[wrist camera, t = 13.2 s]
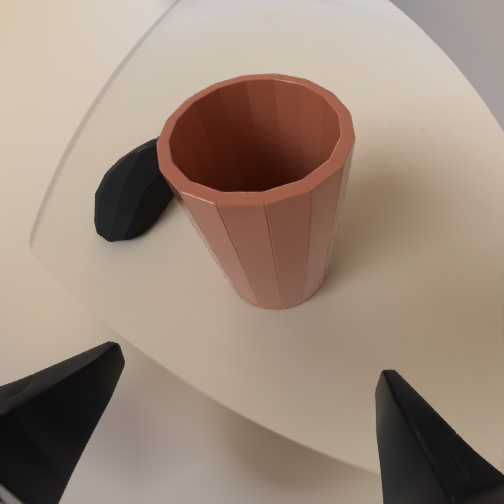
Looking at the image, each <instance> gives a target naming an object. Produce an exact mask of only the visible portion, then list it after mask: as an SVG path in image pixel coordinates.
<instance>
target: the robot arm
mask: <svg viewBox="0 0 504 504" xmlns="http://www.w3.org/2000/svg"><path fill="white" fill-rule="evenodd" d="M124 365H125V360H124V357H123V354H122V351H121V348H120V345H119V344H118V343H115V342H110V341H108V342H106V343H103V344H101V345H99V346H97V347H94V348H92V349H90V350H88V351H85V352H83V353H81V354H79V355H76V356H74V357H72V358H69V359H67V360H65V361H62V362H60V363H58V364H55V365H53V366H51V367H49V368H46V369H44V370H41V371H39V372H37V373H34V374H32V375H29V376H27V377H25V378H22V379H20V380H17V381H14V382H12V383H9V384H6V385H3V386H0V504H59V501H60V499H61V497H62V495H63V493H64V490H65V488H66V486H67V484H68V481H69V480H70V477H71V475H72V473H73V471H74V469H75V467H76V465H77V463H78V461H79V459H80V457H81V455H82V453H83V451H84V449H85V447H86V445H87V443H88V441H89V439H90V437H91V435H92V433H93V431H94V429H95V427H96V425H97V424H98V422H99V419H100V418H101V416H102V414H103V412H104V410H105V409H106V406H107V405H108V403H109V401H110V399H111V397H112V395H113V392H114V389H115V387H116V385H117V382H118V380H119V377H120V375H121V373H122V370H123V368H124ZM375 398H376V434H377V443H378V451H379V459H380V469H381V479H382V489H383V503H384V504H504V475H503V474H502V473H501V472H500V471H498V470H497V469H496V468H495V467H493V466H492V465H491V464H490V463H489V462H487V461H486V460H485V459H484V458H483V457H481V456H480V455H479V454H478V453H477V452H476V451H475V450H473V449H472V448H471V447H470V446H469V445H468V444H467V443H466V442H465V441H464V440H463V439H462V438H461V437H460V436H459V435H458V434H456V432H455V431H454V430H453V429H452V428H451V426H450V425H449V424H448V423H447V422H446V421H445V420H444V419H443V418H442V417H441V416H440V415H439V414H438V413H437V412H436V411H435V410H434V409H433V408H432V407H431V406H430V405H429V404H428V403H427V402H426V401H425V400H424V399H423V398H422V397H421V396H420V395H419V394H418V393H417V392H416V391H415V390H414V389H413V388H412V387H411V386H410V385H409V384H408V383H407V382H406V381H405V380H404V379H403V378H402V377H401V376H400V375H399V374H398V373H397V372H396V371H395V370H383V371H382V372H381V375H380V378H379V381H378V384H377V387H376V392H375Z"/></svg>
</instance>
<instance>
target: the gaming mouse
mask: <svg viewBox="0 0 504 504" xmlns="http://www.w3.org/2000/svg"><path fill="white" fill-rule="evenodd" d="M159 137H160V136H159ZM159 137H157V138H156V139H152V140H150V141H148V142H146V143H145V144H143V145H141V146H139V147H137V148H135V149H134V150H132V151H131V152H129V153H128V154H126V155H125V156H124V157H122V158H121V159H119V160H118V161H117V162H116V163H115V164H114V165H113V166H112V167H111V168H110V169H109V170H108V171H107V172H106V174H105V175H104V177H103V179H102V181H101V183H100V185H99V187H98V189H97V191H96V193H95V217H94V222H95V226H96V231H97V234H99V235H100V236H102V237H103V238H104V239H106V240H107V241H109V242H114V241H123V240H130V239H133V238H135V237H138V236H139V235H140V234H141V233H143V232H144V231H145V230H146V229H147V228H148V227H149V226H150V225H152V224H153V223H154V221H155V220H156V219H157V217H158V216H159V215H160V213H161V212H162V211H163V210H164V208H165V207H166V205H167V204H168V202H169V201H170V199H171V198H172V196H173V195H174V193H173V192H172V190H171V188H170V187H169V185H168V183H167V182H166V180H165V178H164V176H163V175H162V173H161V171H160V169H159V161H158V153H157V142H158V139H159Z"/></svg>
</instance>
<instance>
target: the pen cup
mask: <svg viewBox="0 0 504 504" xmlns="http://www.w3.org/2000/svg"><path fill="white" fill-rule="evenodd" d="M354 144H355V133H354V128H353V123H352V118H351V114H350V112H349V111H348V109H347V108H346V107H345V106H344V105H343V104H342V103H341V101H340V100H339V99H338V98H337V97H336V96H335V95H334V94H333V93H332V92H330V91H329V90H327V89H325V88H323V87H321V86H319V85H317V84H315V83H313V82H311V81H309V80H306V79H303V78H298V77H293V76H287V75H282V74H254V75H245V76H244V75H243V76H239V77H236V78H232V79H229V80H225V81H222V82H218V83H215V84H213V85H211V86H209V87H207V88H205V89H204V90H202V91H200V92H198V93H196V94H195V95H193V96H191V97H190V98H188V99H187V100H186V101H184V102H183V103H182V104H181V106H180V107H179V108H178V109H177V110H176V111H175V112H174V113H173V114H172V115H171V116H170V117H169V118H168V119H167V120H166V123H165V125H164V127H163V130H162V132H161V134H160V137H159V139H158V142H157V153H158V161H159V169H160V171H161V173H162V175H163V176H164V178H165V180H166V182H167V183H168V185H169V187H170V188H171V190H172V192H173V193H174V195H175V197H176V198H177V200H178V202H179V203H180V205H181V207H182V208H183V210H184V212H185V213H186V215H187V217H188V218H189V220H190V222H191V223H192V225H193V226H194V228H195V230H196V231H197V233H198V235H199V236H200V238H201V239H202V241H203V243H204V244H205V246H206V247H207V249H208V251H209V252H210V254H211V255H212V257H213V259H214V260H215V262H216V263H217V265H218V267H219V268H220V270H221V271H222V273H223V275H224V276H225V278H226V279H227V281H228V282H229V284H230V285H231V286H232V287H233V288H234V290H235V291H236V293H237V294H238V295H239V296H240V297H241V298H243V299H244V300H245V301H247V302H249V303H250V304H252V305H254V306H257V307H260V308H264V309H270V310H281V309H287V308H291V307H294V306H296V305H299V304H301V303H303V302H304V301H306V300H307V299H309V298H310V297H311V296H312V295H313V294H314V293H315V292H316V291H317V290H318V288H319V287H320V286H321V284H322V282H323V280H324V277H325V275H326V272H327V270H328V267H329V263H330V259H331V255H332V251H333V247H334V242H335V238H336V234H337V230H338V225H339V221H340V216H341V212H342V207H343V202H344V197H345V193H346V188H347V183H348V177H349V172H350V167H351V161H352V156H353V150H354Z"/></svg>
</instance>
